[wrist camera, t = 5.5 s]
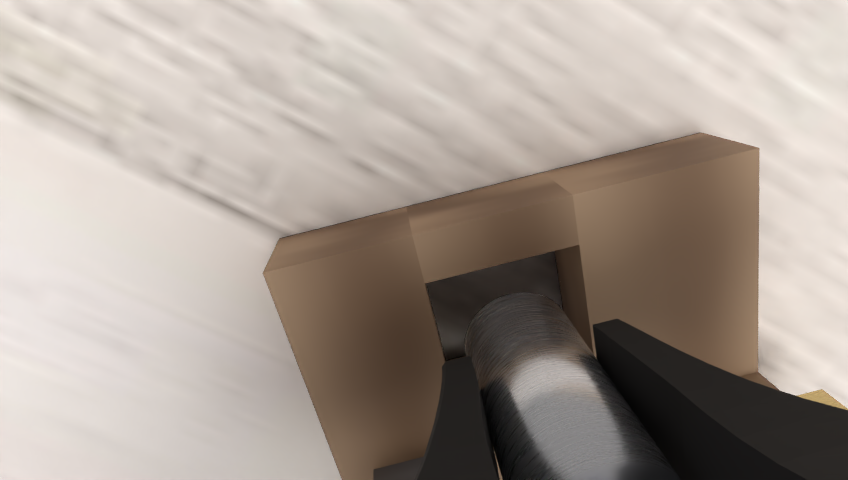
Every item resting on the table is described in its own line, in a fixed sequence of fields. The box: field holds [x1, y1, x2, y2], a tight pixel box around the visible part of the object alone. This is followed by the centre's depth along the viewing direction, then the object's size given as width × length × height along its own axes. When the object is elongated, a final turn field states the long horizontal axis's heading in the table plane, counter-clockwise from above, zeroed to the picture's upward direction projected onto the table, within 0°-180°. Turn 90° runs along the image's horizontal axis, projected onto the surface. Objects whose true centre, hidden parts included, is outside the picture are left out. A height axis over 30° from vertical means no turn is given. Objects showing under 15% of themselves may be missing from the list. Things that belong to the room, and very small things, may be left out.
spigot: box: [465, 293, 681, 480], centre depth 12 cm, size 3×3×6 cm
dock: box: [263, 133, 779, 480], centre depth 15 cm, size 13×12×6 cm
